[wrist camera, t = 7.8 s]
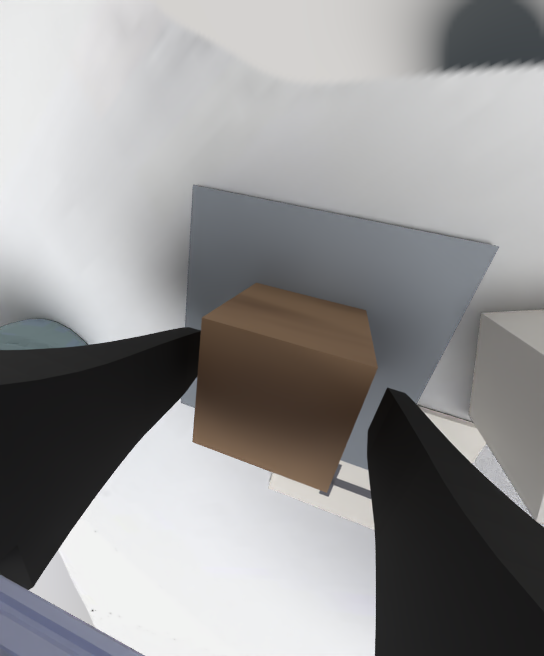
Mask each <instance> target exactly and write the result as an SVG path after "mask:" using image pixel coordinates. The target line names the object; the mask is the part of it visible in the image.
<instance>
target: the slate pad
mask: <svg viewBox="0 0 544 656" xmlns="http://www.w3.org/2000/svg"><path fill="white" fill-rule="evenodd" d="M498 248H499V246H495V245H490V244H485V243H480V242H475V241H470V240H465V239H460V238H455V237H450V236H445V235H440V234H435V233H430V232H425V231H420V230H415V229H410V228H405V227H400V226H395V225H390V224H385V223H380V222H376V221H371V220H366V219H361V218H356V217H351V216H346V215H341V214H336V213H331V212H326V211H321V210H316V209H311V208H306V207H301V206H296V205H291V204H286V203H281V202H276V201H271V200H266V199H261V198H256V197H251V196H246V195H242V194H237V193H232V192H227V191H222V190H217V189H212V188H207V187H202V186H197V185H193V195H192V213H191V231H190V249H189V267H188V285H187V303H186V321H185V327H191V328H194V329H197V330H201V322H202V317H203V316H205V315H207V314H208V313H210V312H211V311H213V310H214V309H216V308H218V307H219V306H221V305H222V304H224V303H225V302H227V301H228V300H230V299H232V298H233V297H235V296H236V295H238V294H239V293H241V292H243V291H244V290H246V289H247V288H249V287H250V286H252V285H254V284H255V283H259V284H263V285H267V286H271V287H275V288H279V289H283V290H287V291H291V292H295V293H299V294H303V295H307V296H311V297H315V298H319V299H323V300H327V301H331V302H335V303H339V304H343V305H347V306H351V307H355V308H359V309H363V310H366V312H367V317H368V322H369V327H370V331H371V336H372V341H373V346H374V351H375V356H376V361H377V366H378V369H377V371H376V374H375V376H374V379H373V381H372V384H371V386H370V389H369V391H368V393H367V396H366V398H365V401H364V403H363V406H362V408H361V411H360V413H359V415H358V418H357V420H356V423H355V425H354V428H353V430H352V433H351V435H350V437H349V440H348V442H347V445H346V447H345V450H344V452H343V455H342V457H341V459H340V460H341V461H344V462H347V463H350V464H352V465H355V466H358V467H361V468H363V469H366V470H368V462H367V436H368V429H369V426H370V424H371V422H372V420H373V418H374V415H375V413H376V411H377V409H378V407H379V404H380V402H381V400H382V398H383V396H384V393H385V391H386V389H387V387H388V388H391V389H394V390H397V391H401V392H404V393H406V394H407V395H408V396H409V397H410V398H411V399H412V400H413V401H414V402H415V403H416V404H417V402H418V400H419V398H420V396H421V394H422V392H423V391H424V389H425V387H426V385H427V383H428V381H429V379H430V377H431V375H432V373H433V372H434V370H435V368H436V366H437V364H438V362H439V360H440V358H441V356H442V355H443V353H444V351H445V349H446V347H447V345H448V343H449V341H450V339H451V337H452V336H453V334H454V332H455V330H456V328H457V326H458V324H459V322H460V320H461V318H462V317H463V315H464V313H465V311H466V309H467V307H468V305H469V303H470V301H471V299H472V298H473V296H474V294H475V292H476V290H477V288H478V286H479V284H480V282H481V280H482V279H483V277H484V275H485V273H486V271H487V269H488V267H489V265H490V263H491V262H492V260H493V258H494V256H495V254H496V252H497V250H498ZM196 389H197V378H196V379H195V380H194V382H193V383H192V385H191V386H190V387H189V389H188V390H187V391H186V393H185V394H184V395H183V396H182V397H181V403H183V404H186V405H188V406H191V407H194V408H195V402H196Z"/></svg>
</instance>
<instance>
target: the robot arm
mask: <svg viewBox="0 0 544 656" xmlns="http://www.w3.org/2000/svg"><path fill="white" fill-rule="evenodd" d="M200 335H201V330H197V329H194V328H191V327H184V328H178V329H173V330H168V331H163V332H158V333H154V334H149V335H144V336H139V337H134V338H129V339H123V340H118V341H112V342H106V343H100V344H92V345H84V346H75V347H63V348H46V349H29V350H0V656H144V655H142V654H141V653H139V652H137V651H135V650H134V649H132V648H130V647H128V646H126V645H125V644H123V643H121V642H119V641H118V640H116V639H114V638H112V637H110V636H109V635H107V634H105V633H103V632H101V631H100V630H98V629H96V628H94V627H93V626H91V625H89V624H87V623H85V622H84V621H82V620H80V619H78V618H77V617H75V616H73V615H71V614H69V613H68V612H66V611H64V610H62V609H60V608H59V607H57V606H55V605H53V604H51V603H50V602H48V601H46V600H44V599H43V598H41V597H39V596H37V595H35V594H34V593H32V592H30V591H28V590H29V589H31V588H32V587H33V586H34V585H35V583H36V582H37V580H38V579H39V577H40V576H41V574H42V573H43V571H44V570H45V568H46V567H47V565H48V564H49V562H50V561H51V559H52V558H53V556H54V555H55V553H56V552H57V550H58V549H59V548H60V546H61V545H62V543H63V542H64V540H65V539H66V537H67V536H68V534H69V533H70V531H71V530H72V528H73V527H74V526H75V524H76V523H77V521H78V520H79V519H80V517H81V516H82V515H83V513H84V512H85V510H86V509H87V508H88V506H89V505H90V503H91V502H92V501H93V499H94V498H95V496H96V495H97V494H98V492H99V491H100V490H101V488H102V487H103V486H104V485H105V483H106V482H107V481H108V479H109V478H110V477H111V475H112V474H113V473H114V471H115V470H116V469H117V467H118V466H119V465H120V464H121V462H122V461H123V460H124V459H125V457H126V456H127V455H128V454H129V452H130V451H131V450H132V449H133V448H134V446H135V445H136V444H137V443H138V442H139V441H140V439H141V438H142V437H143V436H144V435H145V434H146V433H147V432H148V431H149V430H150V429H151V428H152V427H153V426H154V425H155V424H156V423H157V422H158V421H159V420H160V419H161V418H162V416H163V415H164V414H165V413H166V412H167V411H168V410H169V409H170V408H171V407H172V406H173V405H174V404H175V403H176V402H177V401H178V400H179V399H180V398H181V397H182V396H183V395H184V394H185V393H186V391H187V390H188V389H189V387H190V386H191V385H192V383H193V382H194V380H195V379H196V378H197V375H198V362H199V349H200ZM367 462H368V472H369V482H370V491H371V500H372V509H373V518H374V528H375V544H376V638H375V656H544V527H543V526H541V525H540V524H539V523H538V522H536V521H535V520H534V519H533V518H532V517H530V516H529V515H528V514H527V513H526V512H524V511H523V510H522V509H521V508H520V507H518V506H517V505H516V504H515V503H514V502H513V501H512V500H511V499H509V498H508V497H507V496H506V495H505V494H504V493H503V492H502V491H500V490H499V489H498V488H497V487H496V486H495V485H494V484H493V483H491V482H490V481H489V480H488V479H487V478H486V477H485V476H484V475H483V474H482V473H481V472H480V471H479V470H478V469H477V468H476V467H475V466H474V465H473V464H472V463H471V462H470V461H469V460H468V459H467V458H466V457H465V456H464V455H463V454H462V453H461V452H460V451H459V450H458V449H457V448H456V447H455V446H454V445H453V444H452V443H451V442H450V441H449V440H448V439H447V438H446V437H445V436H444V434H443V433H442V432H441V431H440V430H439V429H438V428H437V427H436V426H435V425H434V423H433V422H432V421H431V420H430V419H429V418H428V417H427V416H426V414H425V413H424V412H423V411H422V410H421V409H420V408H419V407H418V406H417V404H416V403H415V402H414V401H413V400H412V399H411V398H410V397H409V396H408V395H407V394H406V393H404V392H401V391H397V390H394V389H391V388H388V387H387V389H386V391H385V393H384V396H383V398H382V400H381V402H380V404H379V407H378V409H377V411H376V413H375V415H374V418H373V420H372V422H371V424H370V426H369V429H368V436H367Z"/></svg>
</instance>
